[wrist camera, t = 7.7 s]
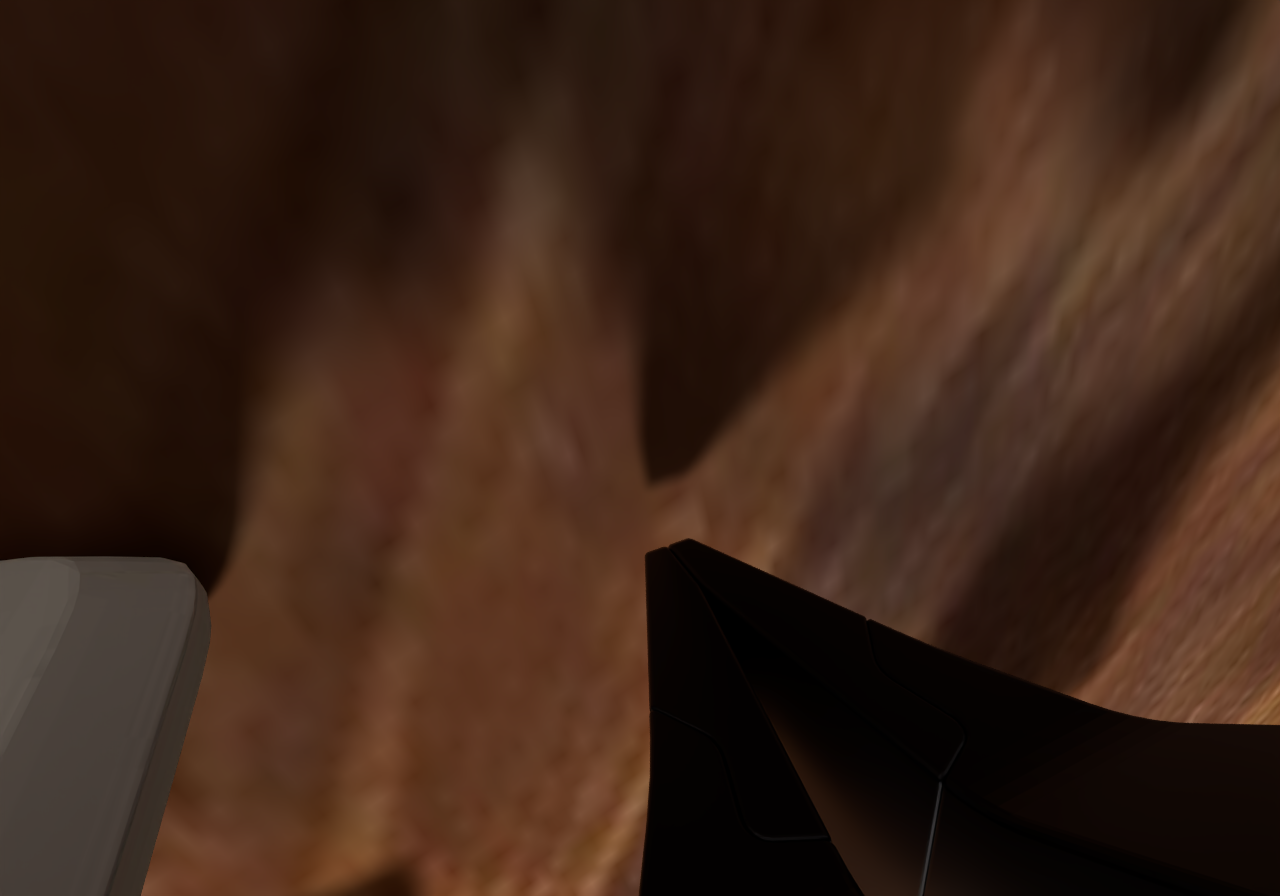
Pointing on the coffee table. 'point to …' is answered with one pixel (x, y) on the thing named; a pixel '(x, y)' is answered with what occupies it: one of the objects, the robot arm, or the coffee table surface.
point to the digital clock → (92, 716)
